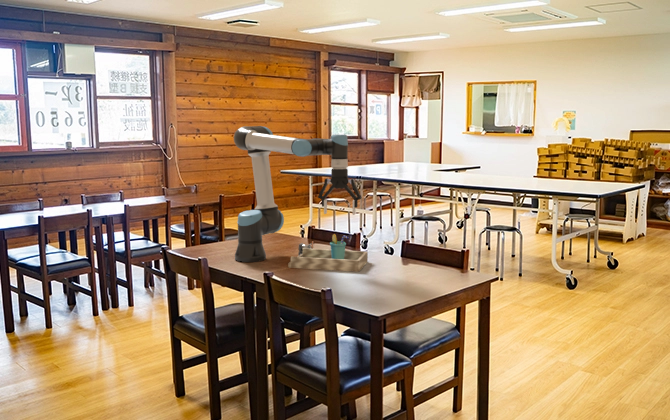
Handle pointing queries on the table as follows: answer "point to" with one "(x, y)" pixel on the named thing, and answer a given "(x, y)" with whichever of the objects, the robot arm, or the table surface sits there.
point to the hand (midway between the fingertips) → (339, 214)
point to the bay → (329, 260)
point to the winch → (304, 247)
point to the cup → (338, 247)
